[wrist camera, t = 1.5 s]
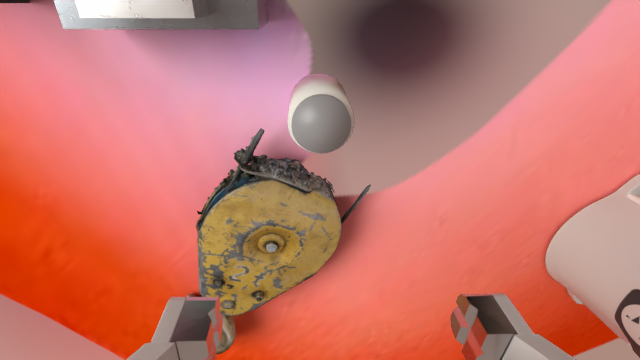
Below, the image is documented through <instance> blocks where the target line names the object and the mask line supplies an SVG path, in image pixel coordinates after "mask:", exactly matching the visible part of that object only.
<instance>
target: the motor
mask: <svg viewBox="0 0 640 360" xmlns="http://www.w3.org/2000/svg"><path fill="white" fill-rule="evenodd" d="M54 3H55V6H56V9H57V12H58V15H59V18H60V21H61V24H62V27H63V29H260V28H261V27H262V26H263V25H265V24H266V23H267V22H268V17H267V2H266V0H54Z"/></svg>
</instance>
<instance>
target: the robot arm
mask: <svg viewBox="0 0 640 360" xmlns="http://www.w3.org/2000/svg"><path fill="white" fill-rule="evenodd" d="M545 263H546V268H547V271H548V273H549V274H550V276H551V277H552V278H553V279H554V280H556V281H557V282H559V283H560V284H561V285H563V286H564V287H565V288H566V289H567V291H568V294H569V296H570V297H571V298H572V299H573V300H574V301H575V302H576V303H578V304H584V305H585V306H586V307H587V308H588V309H589V310H590V311H592V312H593V313H594V314H595V315H596V316H597V317H598V318H599V319H600V320H601V321H602V322H603V323H604V324H606V325H607V326H608V327H609V328H610V329H611V330H612V331H613V332H614V333H615V334H616V335H618V336H619V337H620V338H621V339H622V340H623V341H624V342H625V343H627V344H628V345H630V346H632V348H633V350H634V352H635V353H636V354H637V355H638V356H639V357H640V174H638V175H636V176H635V177H633V178H632V179H630V180H629V181H628V182H627V183H625V184H624V185H623V186H622V187H620V188H619V189H618V190H617V191H616V192H614V193H612V194H610V195H609V196H607V197H605V198H602V199H600V200H598V201H596V202H594V203H592V204H590V205H589V206H587V207H585V208H584V209H582V210H581V211H579V212H578V213H576V214H575V215H574V216H573V217H571V218H570V219H569V220H568V221H567V222H566V223H565V224H564V225H563V226H562V227H561V228H560V229H559V230H558V232H557V233H556V234H555V236H554V237H553V239H552V240H551V242H550V244H549V247H548V249H547V252H546V258H545ZM456 302H457V304H458V307H457V308H456V309H454V310H453V312H452V315H451V327H452V331H453V333H454V336H455V338H456V339H457V340H458V341H459V342H460V343H461V344H463V348H462V353H463V355H464V357H465V359H466V360H576V359H575V358H573V357H572V356H570V355H569V354H567V353H566V352H564V351H563V350H561V349H560V348H558V347H557V346H555V345H554V344H552V343H551V342H549V341H548V340H546V339H545V338H543V337H542V336H541V335H539V334H534V333H533V332H532V330H531V329H530V327H529V326H528V325H527V323H526V322H525V320H524V319H523V318H522V316H521V315H520V313H519V312H518V311H517V309H516V308H515V306H514V305H513V304H512V302H511V301H510V299H509V298H508V297H507V296H506V295H505V294H503V293H499V294H487V293H486V294H461V295H459V296H458V298H457V301H456ZM220 306H221V302H220V298H219V297H171V298H170V299H169V301H168V302H167V305H166V307H165V309H164V312H163V314H162V317H161V319H160V321H159V324H158V326H157V329H156V331H155V333H154V336H153V338H152V341H151V343H145V344H144V345H143V346H142V347H140V348H139V349H138V350H137V351H136V352H135V353H133V354H132V355H131V356H130V357H129V358H128V359H126V360H217V354H216V348H217V347H218V346H219V345H220V341H221V336H222V328H223V319H222V314H221V313H220V312H219V311H220Z"/></svg>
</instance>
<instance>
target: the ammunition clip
mask: <svg viewBox="0 0 640 360" xmlns="http://www.w3.org/2000/svg"><path fill="white" fill-rule="evenodd" d="M0 3H30V0H0Z"/></svg>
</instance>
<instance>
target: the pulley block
mask: <svg viewBox="0 0 640 360" xmlns="http://www.w3.org/2000/svg"><path fill="white" fill-rule="evenodd" d="M263 133H264V130H263V129H260V130H259V132H258V133H257V134H256V135H255V136H254V137H252V139H251V142H250V145H249V146H248V147H246V150H244V149H242V148H241V150H240V151H239V150H238V151H237V152H236V153H234V154H235V157H234V159H235V160H236V161H237V162H238V164H239V165H238V167H237V168H236V170H235V171H233V169H231V170H230V172H229V173H228V175H229V176H228V177H227V178H225V179H224V180H223V181H222V182H221V183H220V185H219V186H218V187H217V188H215V190H214V192H213V193H212V195H211V196H210V198H209V197H208V200H207V202H206V204H205V205H204V208H203V210H202V212H198V211H197V212H198V214H202V215H201V217H200V218H199V220H198V222H197V224H196V228H197V231H198V265H199V290H200V293H201V295H202V297H219V298H220V302H221V306H220V311H219V312H220V313H221V314H222V319H223V328H222V336H221V341H220V345H219V346H218V347H217V348H216V354H221V353H223V352H224V351H226V350H228V349H229V347H230V346H231V345H232V344H233V342H234V340H235V337H236V329H235V323H234V318H233V316H235V315H240V314H243V313H246V312H249V311H251V310H254V309H257V308H258V307H260V306H262V305H263V304H265V303H267V302H268V301H270V300H272V299H273V298H275V297H277V296H278V295H280V294H282V293H284V292H285V291H287V290H289V289H291V288H292V287H294V286H296V285H298V284H299V283H301V282H303V281H305V280H307V279H308V278H310V277H312V276H313V275H315V274H316V273H317V272H318V270H319V269H320V268H321V267H322V266H323V265H324V264H325V263H326V261H327V260H328V259H329V258H330V257H331V256H332V254H333V253H334V251H335V249H336V247H337V245H338V242H339V240H340V237H341V227H342V225H341V224H342V223H343V222H344V221H345V220H346V218H347V217H348V215H349V214H350V213H351V211H352V210H353V209H354V208H355V207H356V206H357V204H358V203H359V202H360V200H361V199H362V198H363V196H364V195H365V194H366V193H367V191H368V190H369V188H370V186H371V185H369V186H367V187H366V188H365V190H364V191H363V192H362V193H361V194H360V196H359V197H358V199H357V200H356V201H355V203H354V204H353V205H352V206H351V208H350V209H349V210H347V212H346V213H345V214H344V216H343V217H342V219H341V218H340V214H339V211H338V208H337V205H336V203H335V200H334V196H333V193H332V191H331V189H332V190H333V188H332V184H331V183H330V182H329V181H328V183H329V184H328V183H327V182H326V178H325V179H322V178H321V177H320V176H315V175H314V173H313V172H311V173H309V172H308V171H307V169H305V168H304V167H303V165H302V164H301V163H299V162H298V161H297V160H291V159H288V158H286V159H274V158H267V156H266V155H261V156H253V152H254V150H255V148H256V146H257V145H258V143H259V141H260V139H261V137H262V135H263ZM248 163H251V164H250V165H247V164H248ZM333 191H334V190H333ZM186 297H196V296H195V295H193V294H189V295H188V296H186Z"/></svg>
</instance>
